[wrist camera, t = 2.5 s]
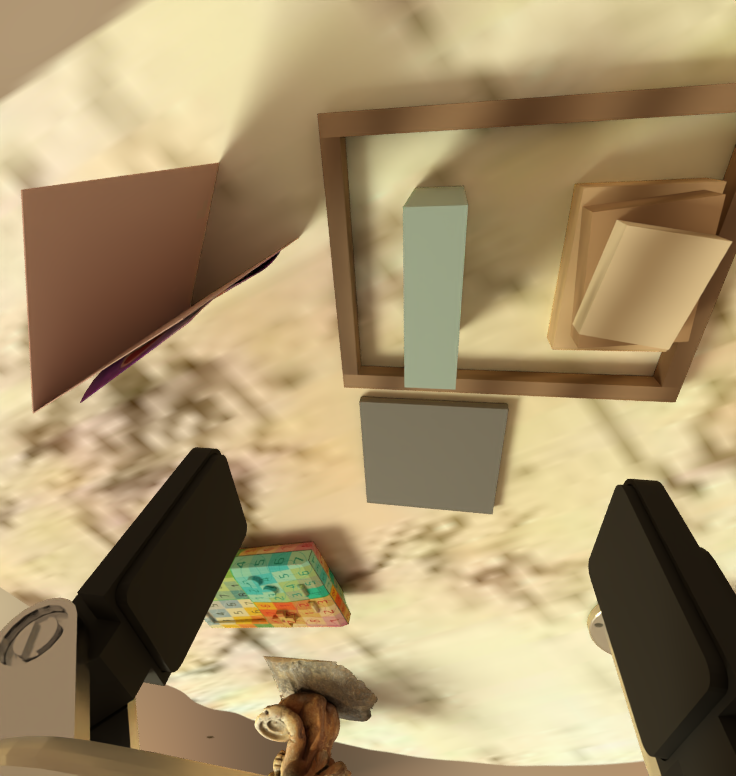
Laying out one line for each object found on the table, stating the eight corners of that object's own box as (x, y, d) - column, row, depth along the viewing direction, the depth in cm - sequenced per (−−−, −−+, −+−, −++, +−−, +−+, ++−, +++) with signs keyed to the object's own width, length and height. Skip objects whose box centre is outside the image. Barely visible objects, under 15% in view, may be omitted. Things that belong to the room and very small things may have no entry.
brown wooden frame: (785, 81, 21) (806, 77, 19) (665, 391, 30) (675, 402, 29) (324, 114, 25) (317, 113, 24) (348, 377, 34) (344, 387, 33)
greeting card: (196, 316, 34) (46, 426, 21) (131, 233, 31) (-86, 303, 18) (306, 248, 29) (197, 336, 17) (241, 144, 26) (52, 156, 14)
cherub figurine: (253, 653, 64) (194, 811, 49) (364, 664, 60) (336, 840, 45) (286, 706, 73) (243, 853, 58) (385, 718, 69) (366, 881, 54)
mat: (507, 403, 33) (508, 409, 32) (491, 507, 39) (492, 514, 39) (361, 396, 35) (359, 401, 34) (368, 496, 41) (367, 502, 41)
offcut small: (715, 235, 21) (732, 241, 20) (657, 338, 25) (668, 350, 23) (616, 219, 22) (626, 225, 20) (572, 323, 25) (578, 334, 24)
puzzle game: (346, 632, 48) (208, 634, 54) (354, 593, 51) (224, 600, 58) (306, 568, 42) (157, 579, 49) (318, 531, 46) (179, 545, 53)
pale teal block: (463, 185, 26) (468, 205, 19) (454, 333, 31) (455, 389, 24) (415, 187, 26) (403, 207, 19) (414, 332, 31) (404, 387, 25)
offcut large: (702, 177, 24) (726, 181, 22) (650, 335, 29) (666, 351, 27) (572, 182, 25) (583, 187, 23) (545, 334, 30) (552, 349, 28)
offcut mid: (705, 189, 22) (725, 194, 20) (673, 327, 26) (688, 341, 24) (582, 206, 23) (592, 212, 22) (570, 335, 27) (577, 348, 26)
